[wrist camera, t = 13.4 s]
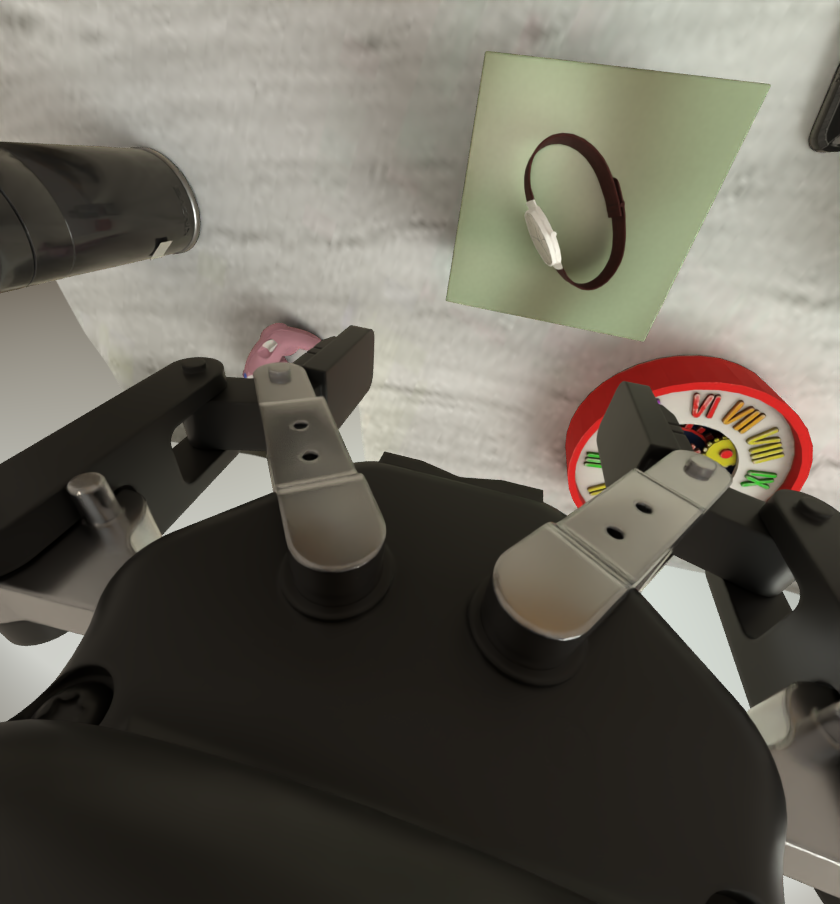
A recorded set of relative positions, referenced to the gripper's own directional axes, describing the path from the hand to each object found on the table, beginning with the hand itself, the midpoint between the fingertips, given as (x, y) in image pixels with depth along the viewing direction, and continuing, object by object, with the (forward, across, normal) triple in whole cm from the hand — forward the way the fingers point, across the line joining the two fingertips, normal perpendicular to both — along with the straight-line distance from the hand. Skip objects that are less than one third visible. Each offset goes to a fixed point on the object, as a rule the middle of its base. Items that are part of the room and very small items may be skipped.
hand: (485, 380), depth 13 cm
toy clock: (+28, -20, +16) cm, 38 cm away
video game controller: (+29, +24, +16) cm, 41 cm away
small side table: (+28, -3, -4) cm, 29 cm away
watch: (+15, -2, -4) cm, 16 cm away
